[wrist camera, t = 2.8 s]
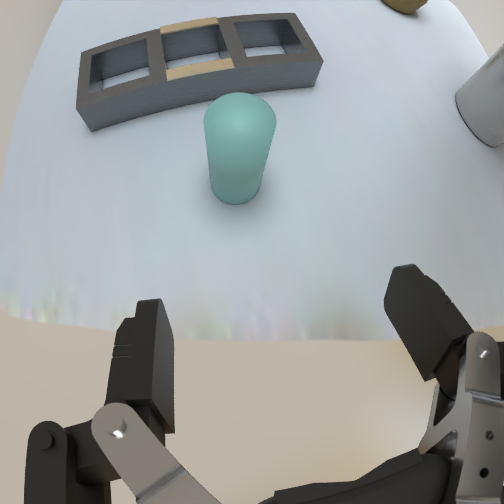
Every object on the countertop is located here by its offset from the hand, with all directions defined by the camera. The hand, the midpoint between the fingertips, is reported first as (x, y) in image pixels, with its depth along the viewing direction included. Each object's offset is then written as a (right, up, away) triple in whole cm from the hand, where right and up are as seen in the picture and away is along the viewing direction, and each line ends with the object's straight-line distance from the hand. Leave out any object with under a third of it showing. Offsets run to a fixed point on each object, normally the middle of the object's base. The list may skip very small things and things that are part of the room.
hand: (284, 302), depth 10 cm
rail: (-7, +19, +16) cm, 26 cm away
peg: (-2, +7, +15) cm, 17 cm away
